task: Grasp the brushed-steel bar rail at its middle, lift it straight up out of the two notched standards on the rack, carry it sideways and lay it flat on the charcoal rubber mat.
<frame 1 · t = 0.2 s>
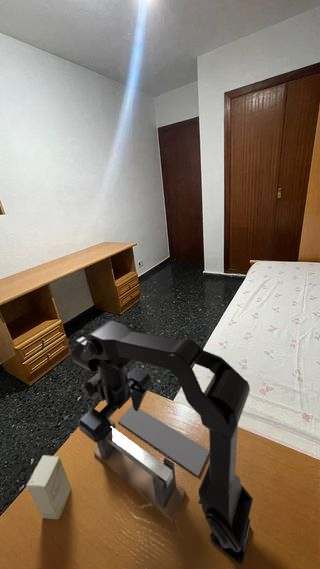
hand: (124, 424, 56), 14 cm above the table, fingers open, 9 cm apart
steel rail: (132, 454, 56), point 7 cm above the table, touching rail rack
skincare box: (57, 502, 54), on the table
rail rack: (136, 471, 59), on the table
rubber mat: (160, 435, 67), on the table
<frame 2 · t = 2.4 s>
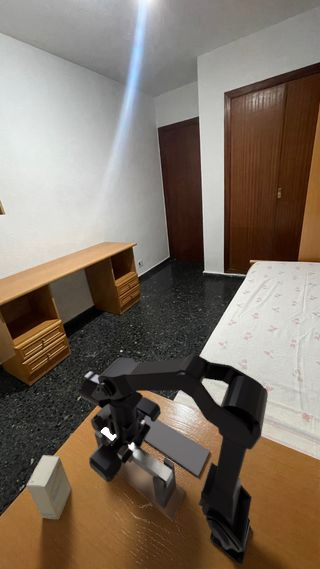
hand: (133, 456, 56), 6 cm above the table, fingers closed on steel rail, 2 cm apart
steel rail: (132, 454, 56), point 7 cm above the table, touching gripper, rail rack
everything else where it was.
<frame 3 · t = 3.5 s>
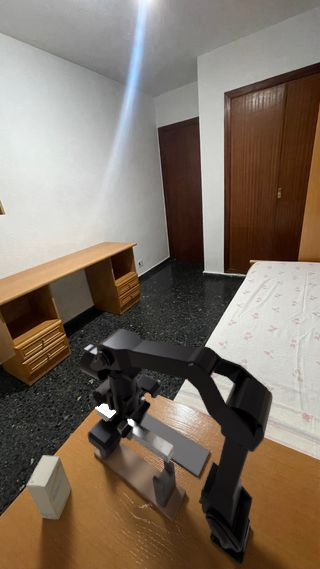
hand: (132, 434, 55), 13 cm above the table, fingers closed on steel rail, 2 cm apart
steel rail: (132, 431, 55), point 14 cm above the table, touching gripper
everything else where it was.
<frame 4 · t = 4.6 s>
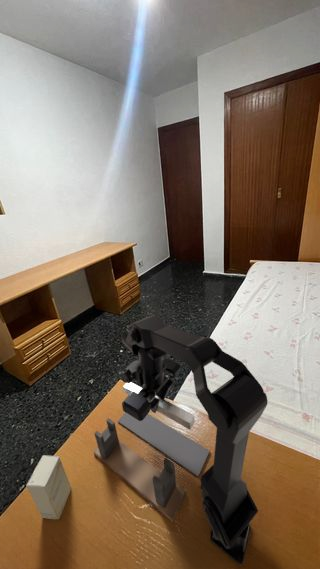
hand: (157, 408, 63), 11 cm above the table, fingers closed on steel rail, 2 cm apart
steel rail: (156, 406, 62), point 12 cm above the table, touching gripper
everything else where it was.
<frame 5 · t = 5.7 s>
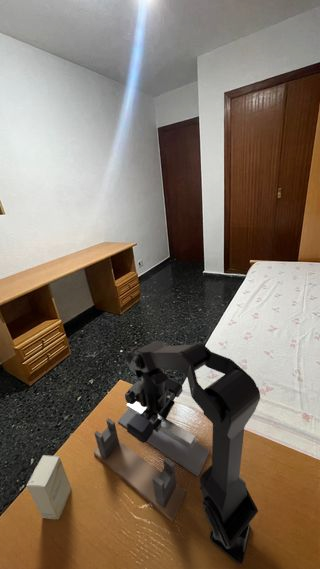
hand: (159, 427, 65), 4 cm above the table, fingers closed on steel rail, 2 cm apart
steel rail: (158, 425, 65), point 5 cm above the table, touching gripper
everything else where it was.
when the fingers open (2 cm above the table, at t = 6.8 s): steel rail drops 2 cm, resting on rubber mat.
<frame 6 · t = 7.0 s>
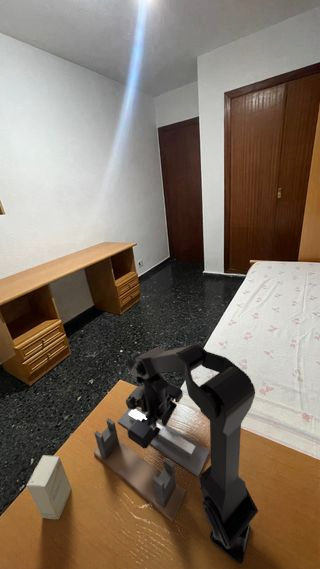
hand: (159, 431, 66), 2 cm above the table, fingers open, 4 cm apart
steel rail: (160, 434, 67), point 1 cm above the table, touching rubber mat
everything else where it was.
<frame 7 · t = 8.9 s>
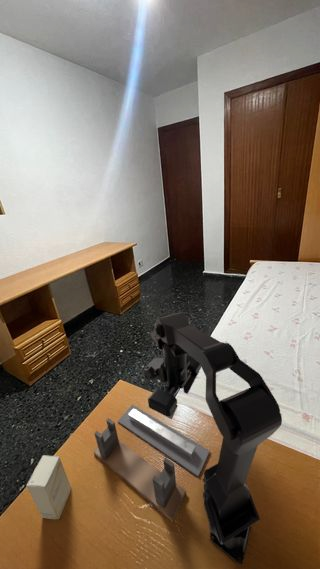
hand: (178, 404, 63), 11 cm above the table, fingers open, 9 cm apart
nothing on the table moved.
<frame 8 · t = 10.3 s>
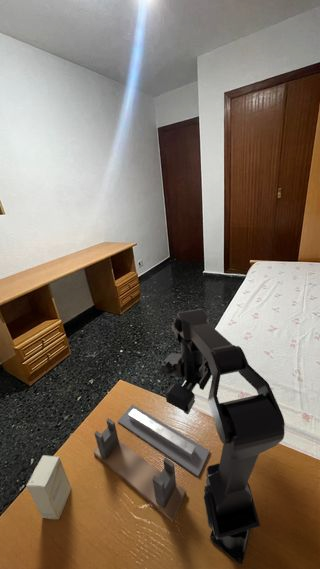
hand: (194, 400, 63), 12 cm above the table, fingers open, 9 cm apart
nothing on the table moved.
at the end: steel rail 0.0 cm off-centre on the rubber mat, point 0.6 cm above the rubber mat's base; steel rail touching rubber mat; the gripper is holding nothing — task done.
